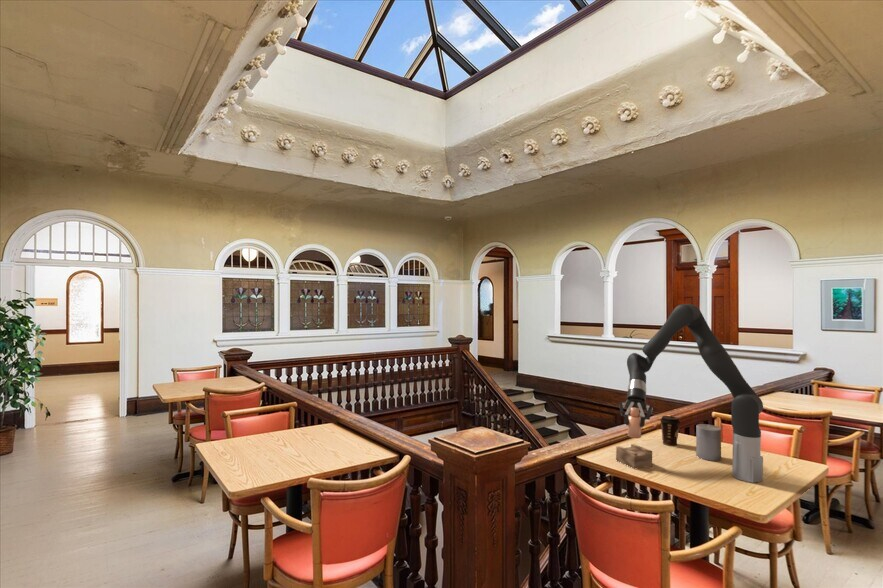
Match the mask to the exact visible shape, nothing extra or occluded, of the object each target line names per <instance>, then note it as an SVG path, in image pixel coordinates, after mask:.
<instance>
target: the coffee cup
mask: <svg viewBox="0 0 883 588" xmlns="http://www.w3.org/2000/svg"><path fill="white" fill-rule="evenodd" d="M659 421H660V426H661V438H662V444H663V445H665V446H670V447H675V446H678V439H679V431H680V423H681V421H680V419H679V418H678V417H675V416H672V415H662V416H661V418H660V420H659Z"/></svg>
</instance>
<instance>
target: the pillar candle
mask: <svg viewBox="0 0 883 588" xmlns="http://www.w3.org/2000/svg"><path fill="white" fill-rule="evenodd" d="M695 428H696V432H695V435H696V436H695V439H696V440H695V441H696V442H695V443H696V444H695V445H696V446H695V450H696V451H695V453H696V454H695V456H696V457H697V456H698V457H699V459H701V458H702V459H701V460H704V459H706V460H705V461H709V460H711V462H718V460H719V461H722V427H720V426H717V425H713V424H706V423H699V424H696V427H695ZM698 457H697V458H698Z"/></svg>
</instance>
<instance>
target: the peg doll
mask: <svg viewBox="0 0 883 588" xmlns="http://www.w3.org/2000/svg"><path fill="white" fill-rule="evenodd" d="M627 436H628V438H631V439H641V438H642V427H641V416H640V413H639V408H635V407H631V412H630V415H628V425H627Z"/></svg>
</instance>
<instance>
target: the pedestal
mask: <svg viewBox="0 0 883 588" xmlns="http://www.w3.org/2000/svg"><path fill="white" fill-rule="evenodd" d="M615 452H616V453H615V455H616V456H615V457H616V458H615V461H616V460H617V461H616V462H618V461H619V462H618V463H620V462H621V463H620V464H622V463H623V464H622V465H624V464H626V465H625V466H627V465H628V466H627V467H629V466H630V468H631V467H632V468H631V469H633V468H637V469H641V467H643V468H647V467H646V466H649V467H652V466H653V450H650V449H648V448H646V447H642V446H640V445H638V444H635V443H631V444H630V447H629V446H628V447H622V446H620V445H617V446H616V449H615Z"/></svg>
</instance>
